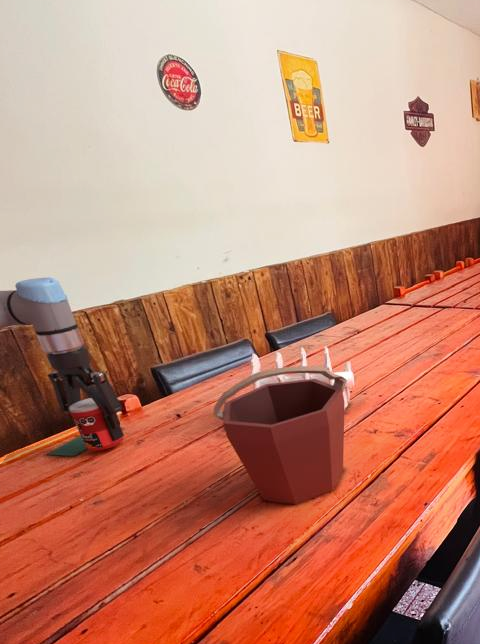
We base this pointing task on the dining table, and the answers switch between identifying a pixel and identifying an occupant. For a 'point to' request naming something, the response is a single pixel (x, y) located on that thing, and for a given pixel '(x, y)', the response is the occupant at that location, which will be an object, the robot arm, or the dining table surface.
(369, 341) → the dining table surface
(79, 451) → the edge mat
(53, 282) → the robot arm
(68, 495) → the dining table surface
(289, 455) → the bucket
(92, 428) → the canned food
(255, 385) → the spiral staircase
